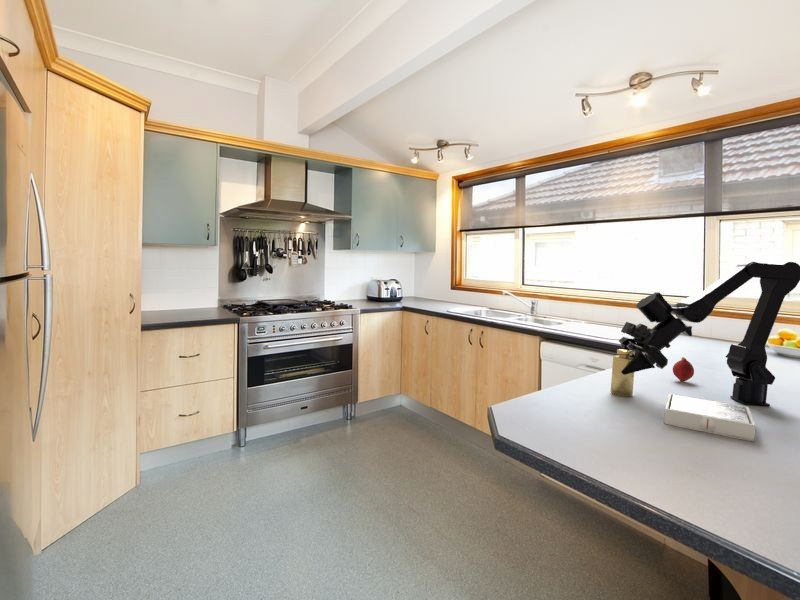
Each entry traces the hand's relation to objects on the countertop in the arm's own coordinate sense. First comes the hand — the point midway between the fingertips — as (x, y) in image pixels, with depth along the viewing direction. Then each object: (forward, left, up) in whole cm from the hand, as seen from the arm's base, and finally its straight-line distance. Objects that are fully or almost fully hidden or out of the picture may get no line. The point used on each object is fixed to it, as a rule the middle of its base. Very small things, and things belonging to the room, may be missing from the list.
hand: (618, 370), depth 122 cm
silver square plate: (-13, +20, -4) cm, 24 cm away
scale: (-13, +20, -7) cm, 25 cm away
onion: (-27, -22, -7) cm, 36 cm away
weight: (-1, 0, -7) cm, 7 cm away
